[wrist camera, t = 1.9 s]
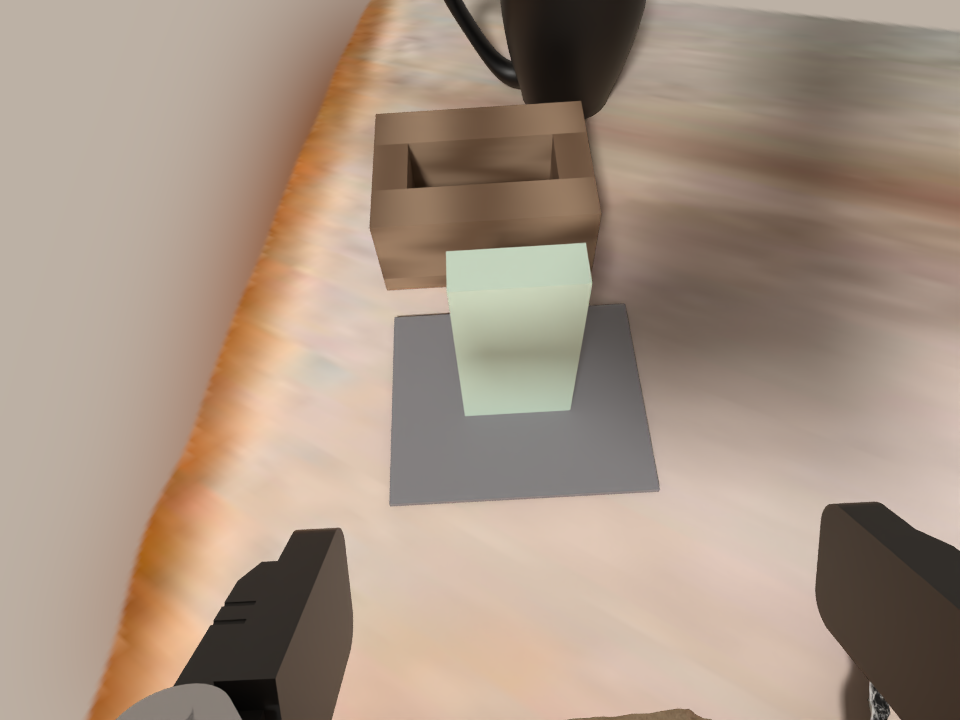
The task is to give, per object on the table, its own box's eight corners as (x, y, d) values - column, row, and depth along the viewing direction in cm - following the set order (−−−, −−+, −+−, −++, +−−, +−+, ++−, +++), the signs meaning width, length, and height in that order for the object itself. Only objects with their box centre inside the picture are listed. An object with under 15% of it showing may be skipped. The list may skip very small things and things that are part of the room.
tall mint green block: (566, 376, 32) (586, 242, 23) (570, 410, 31) (592, 283, 22) (463, 382, 32) (445, 251, 23) (465, 416, 31) (446, 292, 23)
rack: (573, 171, 39) (581, 101, 35) (590, 278, 35) (601, 213, 31) (390, 182, 40) (375, 114, 35) (387, 290, 35) (369, 227, 31)
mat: (624, 307, 34) (624, 303, 34) (658, 491, 29) (659, 489, 29) (395, 320, 34) (394, 317, 34) (390, 506, 29) (389, 504, 29)
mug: (463, 42, 46) (453, -110, 38) (636, 61, 44) (664, -94, 36) (431, 120, 42) (412, -30, 34) (619, 145, 40) (646, -7, 32)
